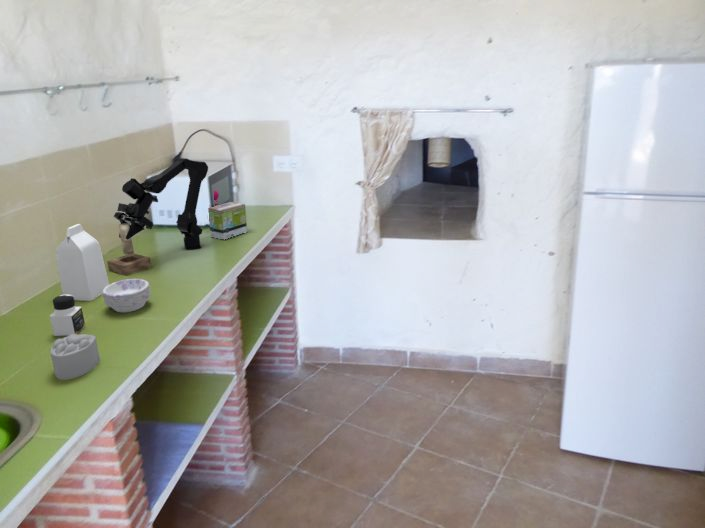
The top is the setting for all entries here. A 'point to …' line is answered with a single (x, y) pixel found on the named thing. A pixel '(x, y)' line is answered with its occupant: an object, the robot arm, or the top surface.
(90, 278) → the milk
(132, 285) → the white patterned bowl
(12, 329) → the top surface
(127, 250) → the peg
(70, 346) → the lumpy-topped squat cylinder
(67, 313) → the medicine bottle
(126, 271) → the brown rectangular frame
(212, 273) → the top surface
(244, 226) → the tea box
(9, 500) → the top surface
